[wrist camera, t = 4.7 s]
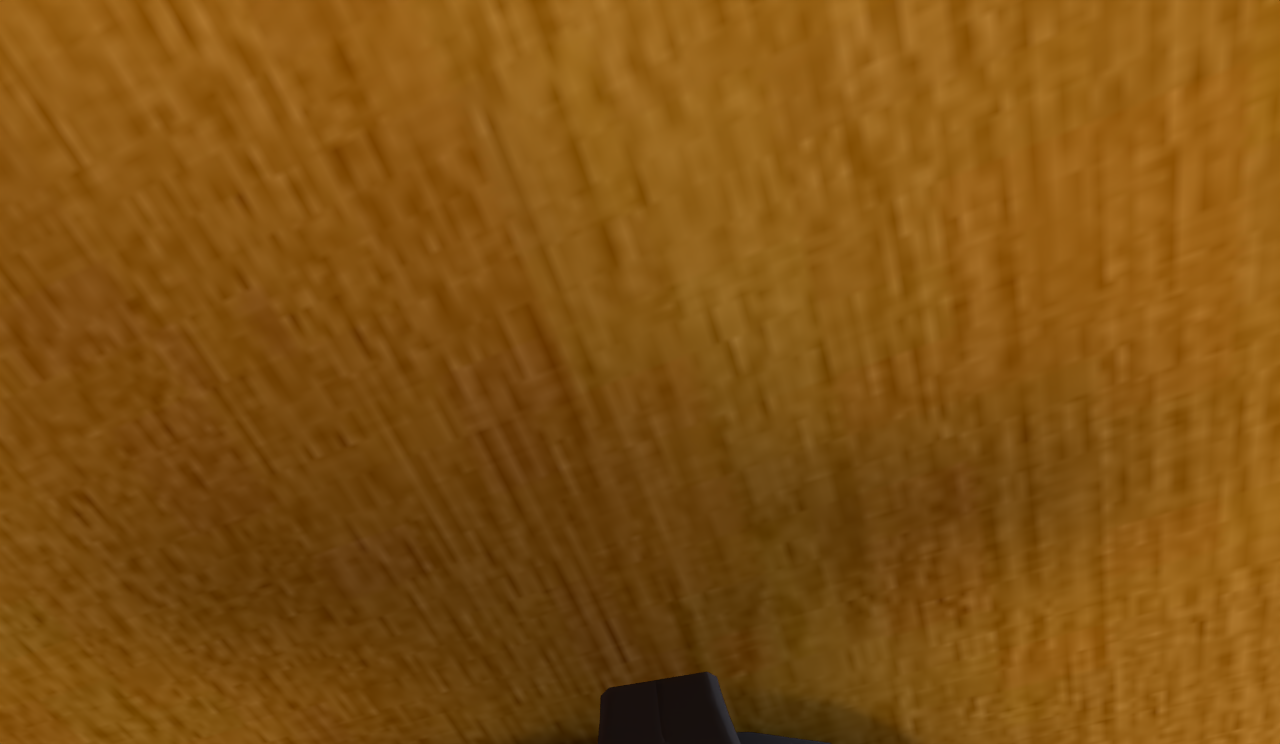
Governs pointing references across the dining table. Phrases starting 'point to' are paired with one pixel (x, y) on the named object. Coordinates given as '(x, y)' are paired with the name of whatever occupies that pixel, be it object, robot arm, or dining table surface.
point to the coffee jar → (771, 739)
